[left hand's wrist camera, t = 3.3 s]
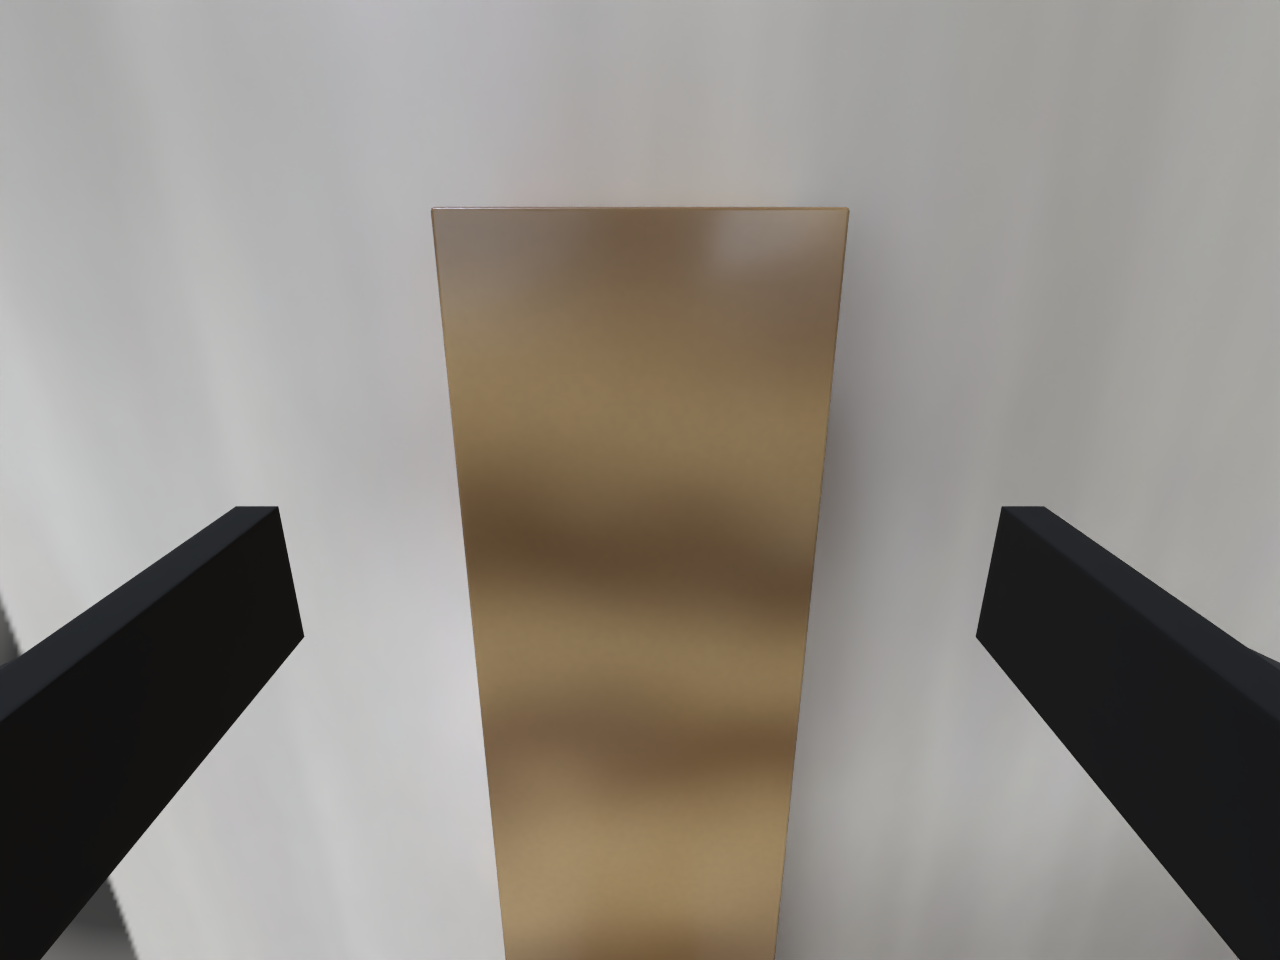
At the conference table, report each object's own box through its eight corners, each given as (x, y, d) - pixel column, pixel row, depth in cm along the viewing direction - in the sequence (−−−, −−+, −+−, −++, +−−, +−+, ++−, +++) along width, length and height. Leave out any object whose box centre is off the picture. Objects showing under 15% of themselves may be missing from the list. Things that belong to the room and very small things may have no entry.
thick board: (491, 212, 22) (429, 207, 16) (789, 212, 22) (850, 206, 16) (556, 1133, 40) (540, 1312, 33) (723, 1134, 40) (739, 1312, 33)
